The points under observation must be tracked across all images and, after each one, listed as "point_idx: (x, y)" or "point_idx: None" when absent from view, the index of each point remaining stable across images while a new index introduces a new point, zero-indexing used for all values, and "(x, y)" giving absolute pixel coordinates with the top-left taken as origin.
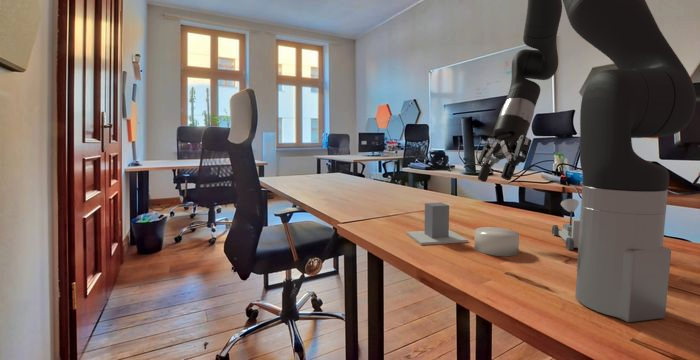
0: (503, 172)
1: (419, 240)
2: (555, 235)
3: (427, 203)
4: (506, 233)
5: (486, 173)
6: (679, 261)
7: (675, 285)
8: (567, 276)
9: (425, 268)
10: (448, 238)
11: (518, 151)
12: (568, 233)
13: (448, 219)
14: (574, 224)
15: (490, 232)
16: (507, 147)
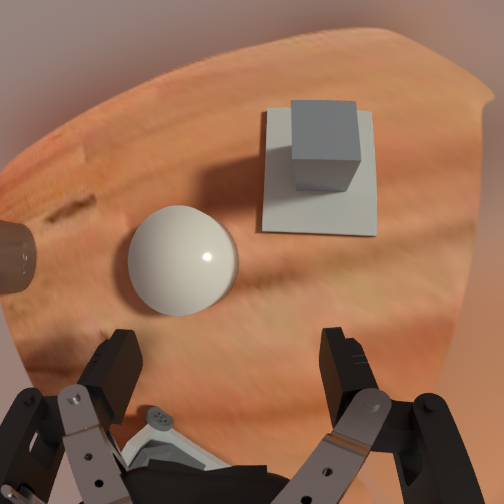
0: (115, 341)
1: (285, 110)
2: None
3: (348, 106)
4: (156, 276)
5: (328, 387)
6: None
7: (38, 379)
8: (65, 281)
9: (148, 86)
10: (285, 184)
11: (8, 417)
12: (202, 466)
13: (294, 174)
14: (131, 438)
15: (174, 241)
16: (79, 484)
